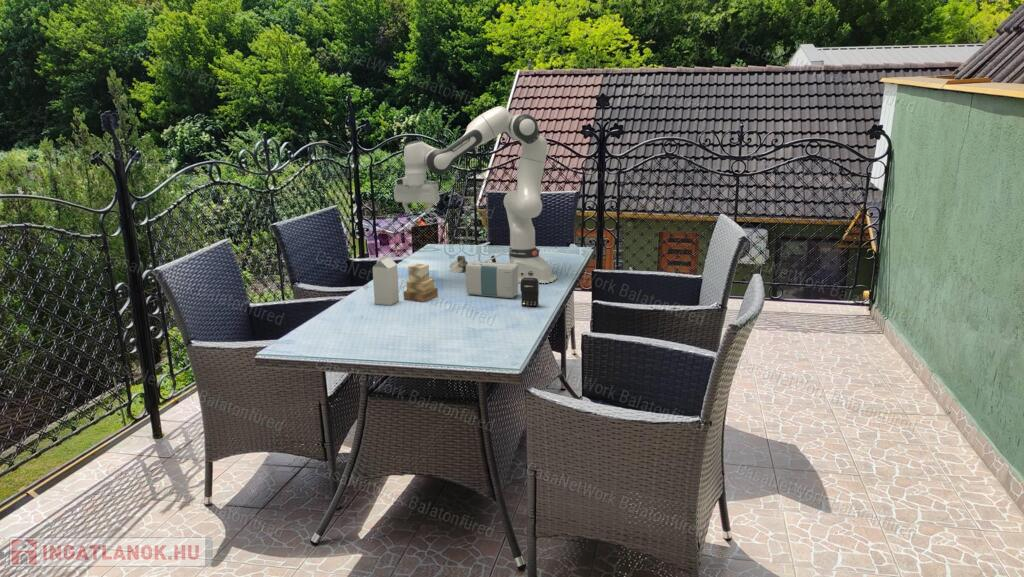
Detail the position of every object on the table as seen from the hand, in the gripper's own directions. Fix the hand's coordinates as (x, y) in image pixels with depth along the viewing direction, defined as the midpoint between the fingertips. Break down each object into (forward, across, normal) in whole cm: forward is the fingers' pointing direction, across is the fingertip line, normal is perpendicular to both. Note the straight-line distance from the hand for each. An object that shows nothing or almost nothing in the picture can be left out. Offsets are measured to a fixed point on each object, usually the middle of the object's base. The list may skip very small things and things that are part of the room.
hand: (417, 213), depth 292 cm
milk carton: (+32, -1, +29) cm, 43 cm away
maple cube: (+24, -10, +19) cm, 32 cm away
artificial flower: (+32, -10, -33) cm, 47 cm away
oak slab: (+28, -10, +19) cm, 35 cm away
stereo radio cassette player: (+32, -36, +5) cm, 49 cm away
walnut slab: (+32, -10, +19) cm, 38 cm away
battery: (+32, -56, +15) cm, 66 cm away
